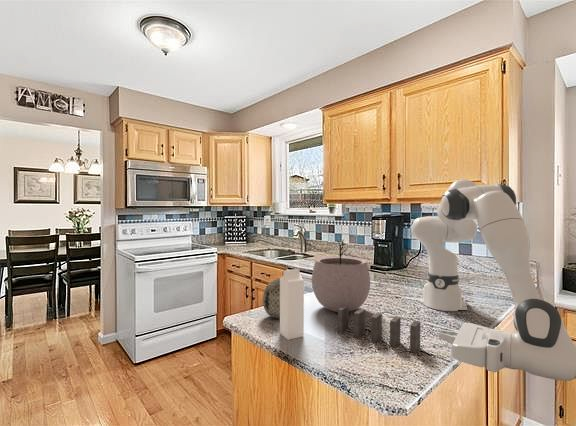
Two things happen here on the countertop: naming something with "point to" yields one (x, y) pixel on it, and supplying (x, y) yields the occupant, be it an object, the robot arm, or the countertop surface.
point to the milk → (292, 304)
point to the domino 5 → (415, 336)
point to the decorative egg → (272, 298)
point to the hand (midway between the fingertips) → (439, 334)
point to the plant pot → (341, 281)
